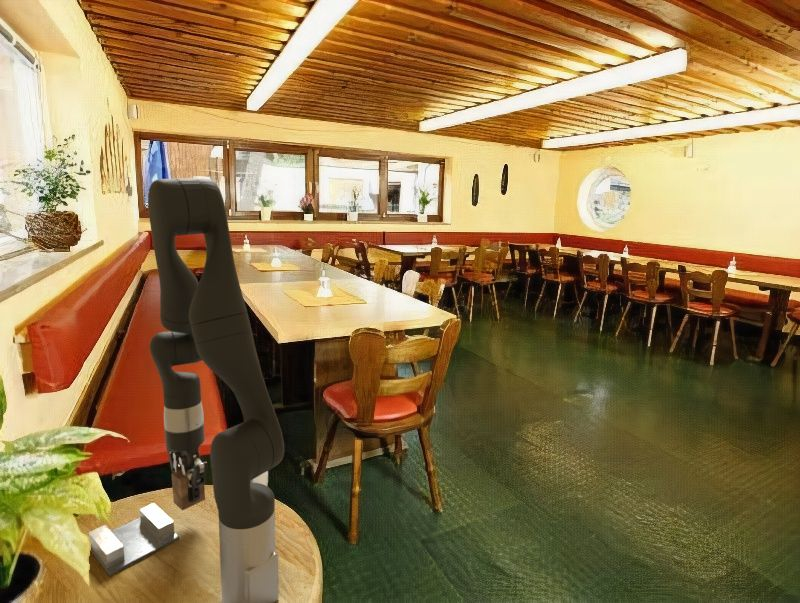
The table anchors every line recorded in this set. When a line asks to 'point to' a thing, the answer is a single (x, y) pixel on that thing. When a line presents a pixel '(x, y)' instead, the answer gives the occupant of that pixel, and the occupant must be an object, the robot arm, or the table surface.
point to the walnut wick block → (184, 491)
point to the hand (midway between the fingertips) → (189, 495)
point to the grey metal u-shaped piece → (132, 539)
